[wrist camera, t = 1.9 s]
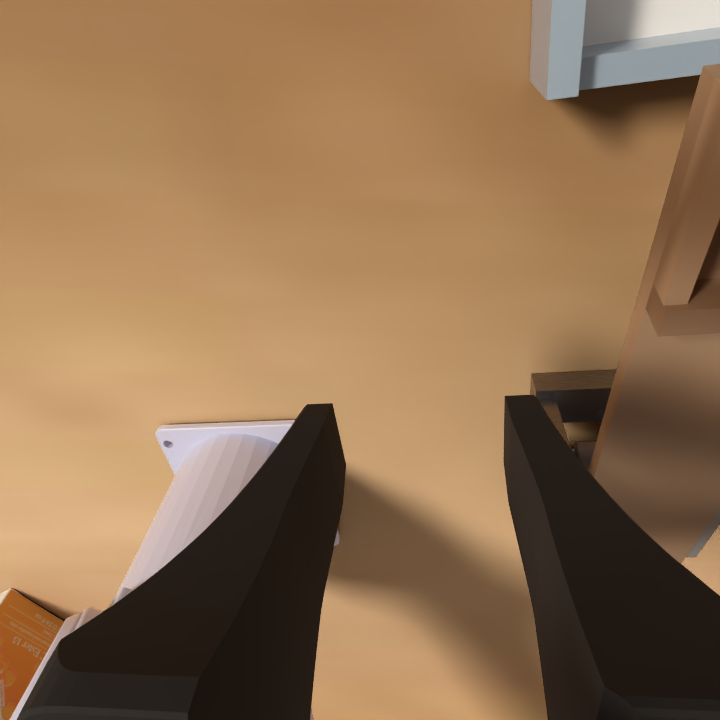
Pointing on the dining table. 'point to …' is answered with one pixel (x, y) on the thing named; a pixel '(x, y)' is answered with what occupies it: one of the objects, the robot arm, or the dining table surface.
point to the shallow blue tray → (619, 42)
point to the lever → (673, 358)
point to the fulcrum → (573, 395)
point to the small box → (21, 646)
